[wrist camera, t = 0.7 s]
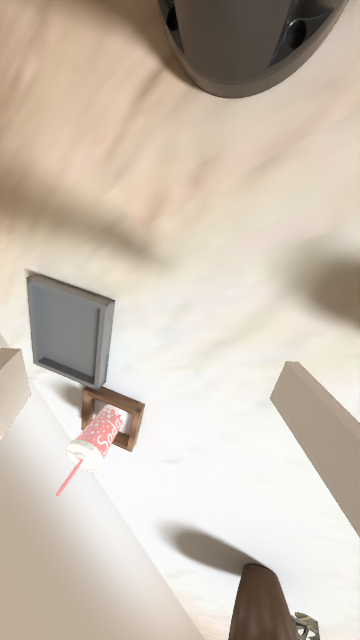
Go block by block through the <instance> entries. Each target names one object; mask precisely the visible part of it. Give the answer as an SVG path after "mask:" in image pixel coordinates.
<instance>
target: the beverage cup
mask: <svg viewBox="0 0 360 640" xmlns="http://www.w3.org/2000/svg"><path fill="white" fill-rule="evenodd" d="M124 420H125V414H124V412H123V411H122V410H121V409H119V408H117V407H114V406H112V405H109V404H108V405H106V406H105V407H104V408H103V409H102V410H101V411H100V412H99V413H98V415H97V416H96V417H95V418H94V419H93V420H92V421H91V422H90V424H89V425H88V426H87V427H86V428H85V429H84V430H83V431H82V433H81V434H80V435H79V436H78V437H77V438H76V439H75V440H73V441H72V442H71V444H69V445H68V446H67V448H66V453H67V456H68V458H69V459H70V460H71V461H72V462H73V464H74V465H76V466H75V468H74V469H73V471H72V472H71V473H70V475H69V476H68V478H67V479H66V480H65V482H64V483H63V485H62V486H61V488H60V489H59V490H58V492H57V493H56V495H57V496H59V495H60V493H61V492H62V491H63V489H64V488H65V486H66V485H67V483H68V482H69V481H70V479H71V478H72V476H73V475H74V473H75V472H76V470H77V469H78V468H80V469H82V470H85V471H87V472H96V471H98V470H99V469H100V468H101V465H102V464H103V459H104V457H105V455H106V453H107V451H108V450H109V448H110V446H111V444H112V442H113V440H114V438H115V436H116V435H117V433H118V431H119V429H120V427H121V425H122V423H123V422H124Z"/></svg>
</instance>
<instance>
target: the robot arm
mask: <svg viewBox="0 0 360 640" xmlns="http://www.w3.org/2000/svg"><path fill="white" fill-rule="evenodd" d="M348 1H349V0H157V3H158V8H159V12H160V16H161V19H162V23H163V26H164V29H165V31H166V34H167V37H168V39H169V42H170V45H171V48H172V50H173V53H174V55H175V57H176V59H177V61H178V63H179V64H180V66H181V68H182V69H183V71H184V72H185V73H186V74H187V76H188V77H189V78H190V79H191V80H192V81H193V82H194V83H195V84H196V85H198V86H199V87H200V88H202V89H203V90H205V91H207V92H209V93H211V94H214V95H217V96H220V97H226V98H242V97H248V96H252V95H256V94H259V93H261V92H264V91H266V90H268V89H270V88H272V87H274V86H276V85H277V84H279V83H281V82H282V81H284V80H285V79H286V78H288V77H289V76H290V75H292V74H293V73H294V72H295V71H296V70H298V69H299V68H300V67H301V66H302V65H303V64H304V63H305V62H306V61H307V60H308V59H309V58H310V57H311V56H312V55H313V53H314V52H315V51H316V50H317V49H318V48H319V46H320V45H321V44H322V42H323V41H324V40H325V39H326V37H327V36H328V34H329V33H330V32H331V30H332V28H333V27H334V25H335V24H336V22H337V21H338V19H339V17H340V16H341V14H342V12H343V10H344V8H345V7H346V5H347V3H348ZM30 396H31V392H30V388H29V383H28V378H27V374H26V369H25V365H24V360H23V356H22V351H21V349H12V348H1V349H0V440H1V438H2V437H3V436H4V434H5V433H6V431H7V430H8V428H9V427H10V425H11V424H12V422H13V421H14V419H15V418H16V416H17V415H18V413H19V412H20V410H21V409H22V408H23V406H24V404H25V403H26V402H27V400H28V398H29V397H30ZM270 399H271V401H272V402H273V404H274V406H275V407H276V409H277V410H278V412H279V413H280V415H281V416H282V418H283V419H284V421H285V423H286V424H287V426H288V427H289V429H290V430H291V432H292V433H293V435H294V437H295V438H296V440H297V441H298V443H299V444H300V446H301V447H302V449H303V450H304V452H305V454H306V455H307V457H308V458H309V460H310V461H311V463H312V464H313V466H314V468H315V469H316V471H317V472H318V474H319V475H320V477H321V478H322V480H323V482H324V483H325V485H326V486H327V488H328V489H329V491H330V492H331V494H332V495H333V497H334V499H335V500H336V502H337V503H338V505H339V506H340V508H341V509H342V511H343V513H344V514H345V516H346V517H347V519H348V520H349V522H350V523H351V525H352V526H353V528H354V530H355V531H356V533H357V534H358V536H359V537H360V423H359V422H358V421H357V420H356V419H355V418H354V417H353V416H352V415H351V414H350V413H349V412H348V411H347V410H346V409H345V408H344V407H343V406H342V405H341V404H340V403H339V402H338V401H337V400H336V399H335V398H334V397H333V396H332V395H331V394H330V393H329V392H328V391H327V390H326V389H325V388H324V387H323V386H322V385H321V384H320V383H319V382H318V381H317V380H316V379H315V378H314V377H313V376H312V375H311V374H310V373H309V372H308V371H307V370H306V369H305V368H304V367H303V366H302V365H301V364H300V363H299V362H288V361H286V363H285V365H284V367H283V369H282V372H281V374H280V376H279V379H278V381H277V383H276V385H275V388H274V390H273V392H272V394H271V397H270Z"/></svg>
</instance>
